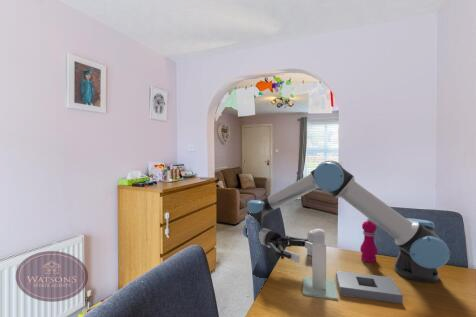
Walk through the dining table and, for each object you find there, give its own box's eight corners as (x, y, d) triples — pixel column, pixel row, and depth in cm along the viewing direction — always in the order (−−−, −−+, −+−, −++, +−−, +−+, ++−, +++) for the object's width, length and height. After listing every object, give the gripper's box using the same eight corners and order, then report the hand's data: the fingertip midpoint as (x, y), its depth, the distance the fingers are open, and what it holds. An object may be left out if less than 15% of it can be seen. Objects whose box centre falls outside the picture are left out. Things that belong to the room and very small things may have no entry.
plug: (325, 283, 95) (325, 243, 94) (326, 291, 90) (326, 248, 89) (312, 282, 96) (312, 242, 96) (312, 289, 91) (312, 247, 91)
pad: (334, 281, 97) (334, 280, 97) (338, 300, 86) (338, 298, 86) (303, 277, 100) (303, 276, 100) (302, 294, 89) (302, 293, 89)
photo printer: (319, 249, 128) (319, 226, 128) (325, 252, 125) (326, 228, 124) (305, 254, 123) (305, 229, 122) (312, 257, 119) (312, 232, 119)
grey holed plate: (390, 284, 95) (390, 277, 95) (402, 303, 83) (402, 295, 83) (335, 277, 100) (336, 270, 100) (339, 294, 89) (339, 286, 89)
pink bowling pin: (360, 261, 114) (361, 219, 114) (359, 255, 121) (360, 215, 120) (378, 264, 112) (379, 221, 111) (376, 257, 118) (376, 217, 118)
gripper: (286, 239, 120) (326, 254, 104) (249, 254, 104) (289, 273, 88) (286, 224, 120) (326, 237, 103) (249, 236, 104) (289, 253, 87)
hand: (309, 254), depth 96 cm, fingers open, 13 cm apart
